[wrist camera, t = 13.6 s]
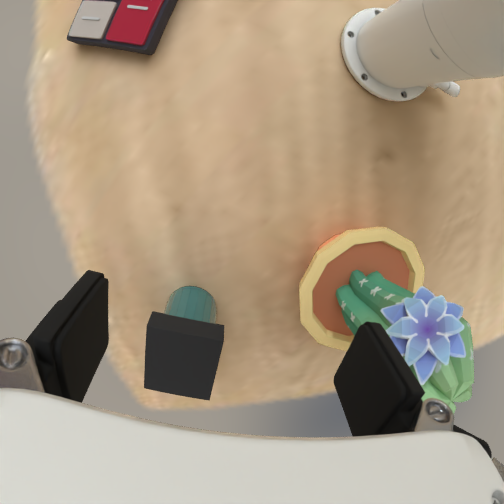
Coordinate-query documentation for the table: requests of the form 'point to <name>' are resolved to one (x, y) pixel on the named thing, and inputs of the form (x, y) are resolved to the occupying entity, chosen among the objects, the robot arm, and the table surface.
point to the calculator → (121, 24)
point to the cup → (192, 304)
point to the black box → (182, 355)
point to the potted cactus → (388, 308)
